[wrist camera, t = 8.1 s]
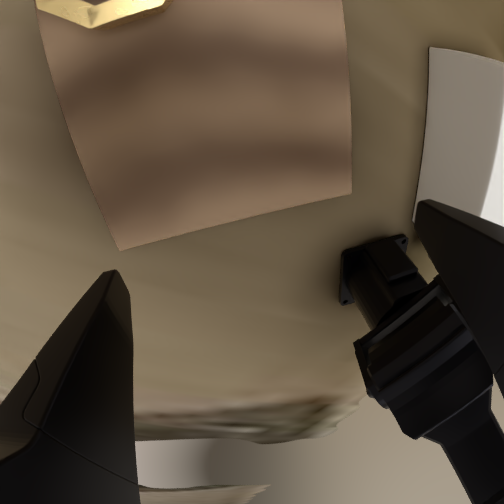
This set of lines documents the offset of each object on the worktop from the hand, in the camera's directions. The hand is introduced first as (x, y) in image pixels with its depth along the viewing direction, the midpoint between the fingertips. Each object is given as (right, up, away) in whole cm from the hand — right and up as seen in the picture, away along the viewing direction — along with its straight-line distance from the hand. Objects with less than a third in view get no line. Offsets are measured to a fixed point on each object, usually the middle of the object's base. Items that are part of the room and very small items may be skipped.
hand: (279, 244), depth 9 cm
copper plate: (-3, +10, +6) cm, 12 cm away
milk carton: (+15, +13, +5) cm, 21 cm away
